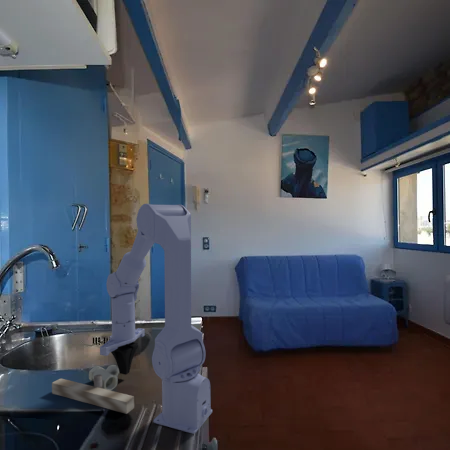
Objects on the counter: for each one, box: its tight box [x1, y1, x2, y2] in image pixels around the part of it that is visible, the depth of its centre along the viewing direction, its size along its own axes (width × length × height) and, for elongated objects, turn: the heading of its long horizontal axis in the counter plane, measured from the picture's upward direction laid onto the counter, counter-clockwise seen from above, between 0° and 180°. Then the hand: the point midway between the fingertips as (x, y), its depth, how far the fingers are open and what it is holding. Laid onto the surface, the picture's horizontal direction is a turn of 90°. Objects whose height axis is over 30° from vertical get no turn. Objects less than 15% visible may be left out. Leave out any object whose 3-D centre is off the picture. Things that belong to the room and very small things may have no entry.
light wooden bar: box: [51, 375, 135, 415], centre depth 75 cm, size 22×4×4 cm, turn 67°
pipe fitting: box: [88, 364, 120, 391], centre depth 83 cm, size 8×4×7 cm
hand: (124, 372), depth 85 cm, fingers closed
